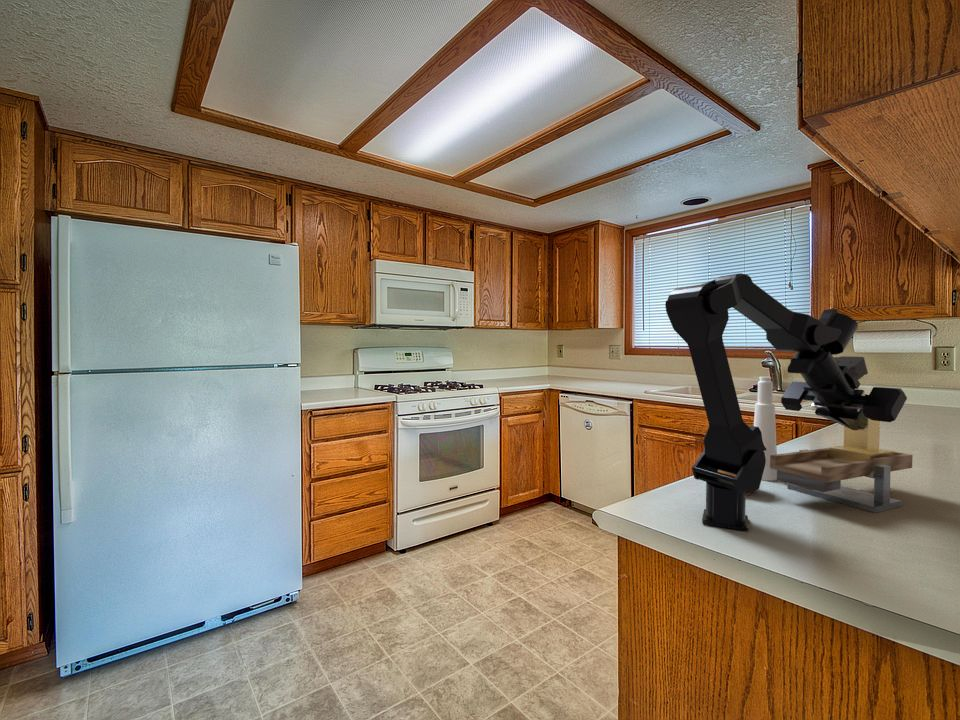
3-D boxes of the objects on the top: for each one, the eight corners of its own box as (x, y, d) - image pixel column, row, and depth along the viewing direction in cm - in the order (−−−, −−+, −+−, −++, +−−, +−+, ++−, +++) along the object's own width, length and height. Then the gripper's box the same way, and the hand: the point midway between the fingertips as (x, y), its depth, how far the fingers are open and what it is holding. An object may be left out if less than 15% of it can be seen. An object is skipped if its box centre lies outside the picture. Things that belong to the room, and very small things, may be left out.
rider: (870, 465, 86) (871, 411, 86) (828, 457, 92) (830, 407, 92) (894, 461, 89) (895, 409, 89) (852, 453, 96) (853, 405, 95)
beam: (829, 494, 78) (830, 468, 78) (767, 478, 88) (768, 454, 88) (914, 478, 88) (915, 455, 88) (850, 465, 98) (850, 444, 98)
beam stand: (875, 512, 80) (876, 469, 79) (787, 488, 93) (788, 451, 93) (901, 506, 83) (902, 464, 83) (812, 483, 97) (813, 447, 96)
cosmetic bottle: (786, 478, 100) (788, 377, 99) (768, 482, 97) (770, 378, 97) (759, 472, 106) (760, 375, 105) (741, 475, 103) (743, 376, 102)
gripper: (902, 341, 78) (935, 402, 83) (790, 342, 96) (823, 393, 100) (874, 389, 76) (910, 450, 80) (764, 381, 93) (799, 432, 97)
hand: (856, 428), depth 90 cm, fingers closed, pressing on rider
